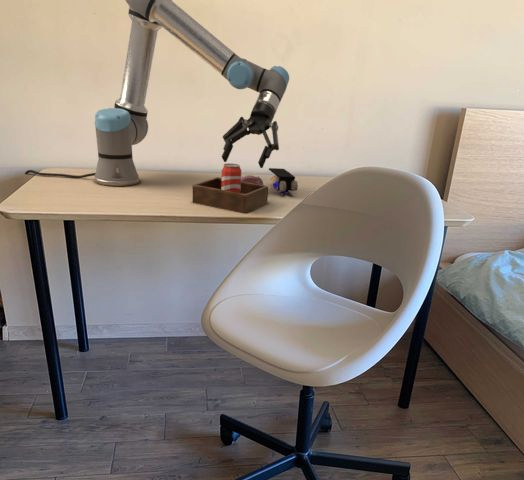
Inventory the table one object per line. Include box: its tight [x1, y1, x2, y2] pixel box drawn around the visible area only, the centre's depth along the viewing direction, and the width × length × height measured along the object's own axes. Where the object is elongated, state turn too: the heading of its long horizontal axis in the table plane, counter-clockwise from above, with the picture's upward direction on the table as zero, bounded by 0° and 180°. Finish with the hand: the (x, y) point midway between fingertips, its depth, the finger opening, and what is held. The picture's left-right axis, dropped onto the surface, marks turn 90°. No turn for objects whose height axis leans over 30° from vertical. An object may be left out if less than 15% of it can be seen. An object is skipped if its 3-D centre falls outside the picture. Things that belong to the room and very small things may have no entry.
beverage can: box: [221, 162, 242, 193], centre depth 165 cm, size 6×6×12 cm
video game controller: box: [241, 174, 264, 185], centre depth 182 cm, size 10×5×7 cm, turn 105°
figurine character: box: [268, 167, 299, 197], centre depth 184 cm, size 7×8×15 cm
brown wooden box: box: [191, 176, 269, 214], centre depth 167 cm, size 20×16×6 cm
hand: (241, 162), depth 167 cm, fingers open, 13 cm apart
